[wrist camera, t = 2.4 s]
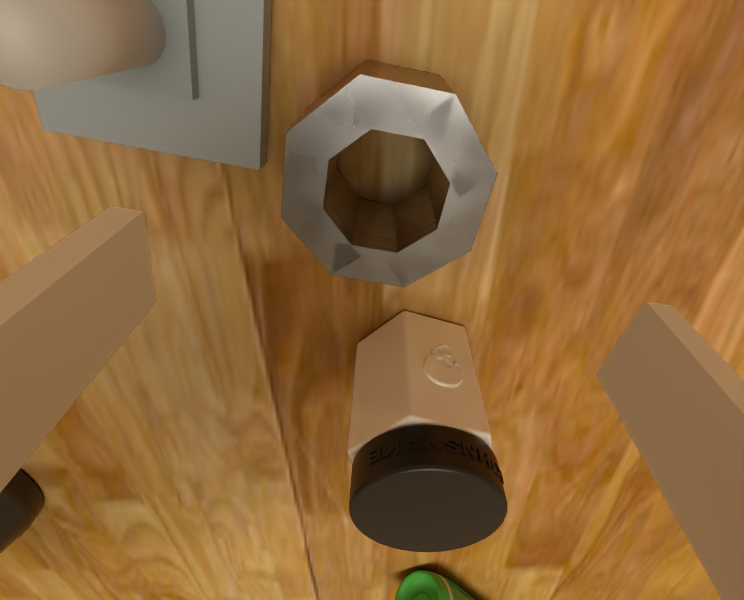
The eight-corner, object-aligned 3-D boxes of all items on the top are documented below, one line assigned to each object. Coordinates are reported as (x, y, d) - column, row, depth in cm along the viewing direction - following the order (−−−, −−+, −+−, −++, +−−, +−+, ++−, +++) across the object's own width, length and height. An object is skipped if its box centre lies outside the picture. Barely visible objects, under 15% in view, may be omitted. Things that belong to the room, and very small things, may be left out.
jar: (494, 330, 30) (548, 489, 20) (449, 404, 34) (474, 564, 24) (373, 297, 28) (366, 450, 18) (343, 379, 33) (324, 537, 23)
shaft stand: (62, 124, 22) (-113, 182, 15) (-6, -171, 16) (-370, -340, 8) (266, 161, 23) (205, 236, 15) (275, -105, 17) (180, -205, 9)
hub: (299, 216, 25) (278, 266, 20) (314, 48, 20) (290, 60, 15) (441, 241, 26) (454, 295, 21) (489, 85, 21) (521, 107, 16)
